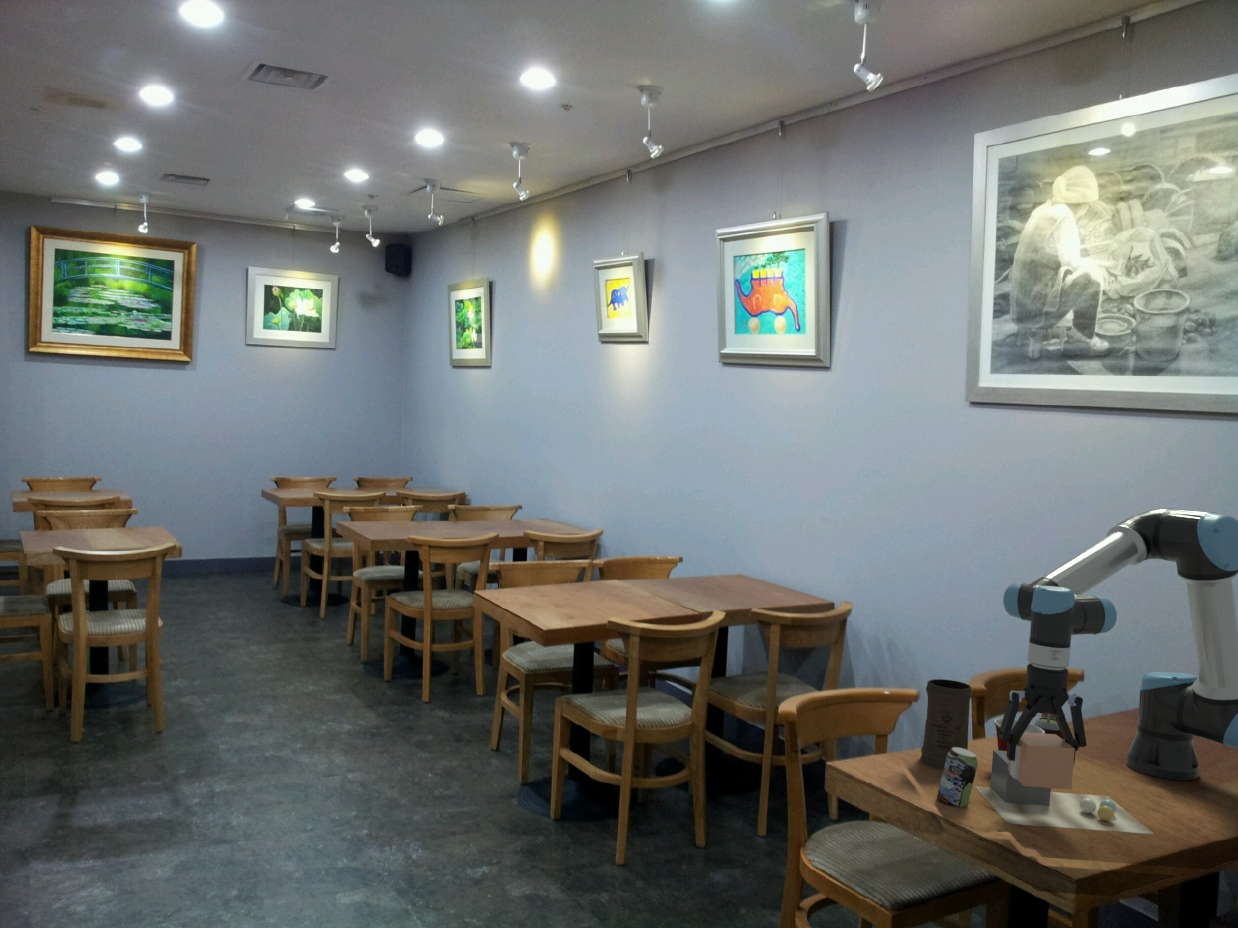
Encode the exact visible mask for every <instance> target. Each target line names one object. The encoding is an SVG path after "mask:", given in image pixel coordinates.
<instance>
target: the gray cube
mask: <svg viewBox="0 0 1238 928" xmlns="http://www.w3.org/2000/svg"><path fill="white" fill-rule="evenodd" d="M1008 761H1009V759H1008V758H1007V751H999V750H998V749H993V750H992V761H991V774H990V785H989V786H990V787H989V788H992V789H993V790H994V791H995V792H996V793H997V794H998V795H999V797H1000V798H1001V799H1002V800H1003V801H1004V802H1005V803H1018V804H1032V805H1046V806H1050V793H1051V792H1052V791H1051V790H1052V788H1044V787H1030V786H1024V785H1023V784H1022V783H1021V782H1019V781H1018V780H1017V779H1014V778H1013V777H1012V776H1011V775H1010V772H1009V771H1008Z"/></svg>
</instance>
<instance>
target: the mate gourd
mask: <svg viewBox="0 0 1238 928" xmlns="http://www.w3.org/2000/svg"><path fill="white" fill-rule="evenodd" d="M1051 715H1052V714H1049V713H1047V717H1045V716H1043V717H1038V718H1037V719H1036V720H1035V722H1034V725H1035V726H1037V727H1039V728H1041V729H1043V730H1044V731H1045V734H1056V735H1057V736H1059V737H1060V738H1061V739H1063V740H1064V738H1063V736H1062V733H1061V731H1060V729H1059V726H1058V724H1057V721H1056V719H1055V718H1052V717H1051ZM1064 741H1065V740H1064Z"/></svg>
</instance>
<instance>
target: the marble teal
mask: <svg viewBox="0 0 1238 928" xmlns="http://www.w3.org/2000/svg"><path fill="white" fill-rule="evenodd" d="M1113 801H1114V800H1113ZM1113 801H1111V800H1108V799H1106V800H1103V801H1102V802H1101V803H1100V807H1101V806H1104V805H1106V806H1109V807H1111V808H1112V809H1113V811H1114V813H1115V811H1116V805H1115V803H1116V802H1115V801H1114V802H1115V803H1114V802H1113Z"/></svg>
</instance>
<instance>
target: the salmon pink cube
mask: <svg viewBox="0 0 1238 928" xmlns="http://www.w3.org/2000/svg"><path fill="white" fill-rule="evenodd" d="M1018 744H1019V745H1020V746H1021V752H1020V764H1019V777H1018V779H1017V780H1018V781H1019V782H1021V783H1022V784H1023V785H1024V786H1030V787H1044V788H1051V789H1057V790H1058V789H1059V790H1070V791H1071V790H1072V789H1073V788H1072V787H1073V776H1074V774H1073V773H1074V765H1075V763H1074V752H1075V748H1073V747H1072V746H1071V745H1069V744H1068V743H1067V742H1065V740H1063V739H1061V738H1060V737H1059V736H1057V735H1056V734H1042V733H1029V732H1024V733H1023V735H1022V737H1021V738H1020V740H1019V741H1018ZM1075 753H1076V752H1075ZM1010 764H1011V760H1009V761H1008V771H1009V772H1010ZM1073 764H1074V765H1073Z"/></svg>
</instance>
